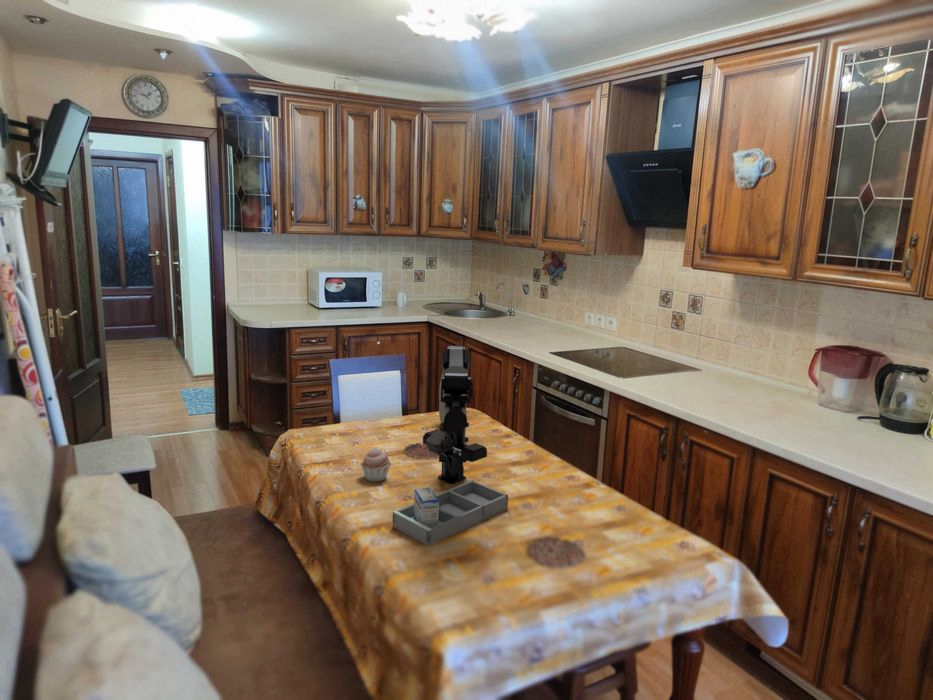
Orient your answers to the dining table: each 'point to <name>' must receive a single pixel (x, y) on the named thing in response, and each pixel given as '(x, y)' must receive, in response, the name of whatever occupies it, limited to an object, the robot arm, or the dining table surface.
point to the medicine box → (426, 507)
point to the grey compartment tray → (453, 512)
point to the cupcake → (375, 465)
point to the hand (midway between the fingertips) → (453, 475)
